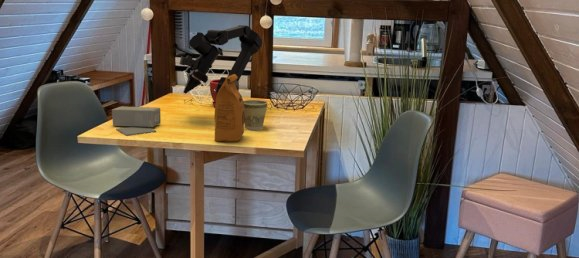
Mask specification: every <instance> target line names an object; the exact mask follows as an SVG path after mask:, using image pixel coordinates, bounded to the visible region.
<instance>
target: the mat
mask: <svg viewBox="0 0 579 258" xmlns="http://www.w3.org/2000/svg"><path fill="white" fill-rule="evenodd" d="M115 131H116V132H118V133H120V134H123V135H124V136H127V137H128V136H135V135H136V134H137V135H143V134H144V133H145V134H151V132H153V133H157V130H156V129H153V128H152V127H134V126H127V127H121V128H116V129H115ZM145 134H144V135H145ZM137 135H136V136H137Z"/></svg>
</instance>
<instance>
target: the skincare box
mask: <svg viewBox="0 0 579 258" xmlns="http://www.w3.org/2000/svg"><path fill="white" fill-rule="evenodd" d="M111 115H112V116H111V117H112V126H114V127H149V128H153V127H156V126H158V125H160V124H161V121H162V120H161V107H150V106H149V107H148V106H147V107H146V106H123V105H122V106H118V107H116V108H113V109H111Z"/></svg>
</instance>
